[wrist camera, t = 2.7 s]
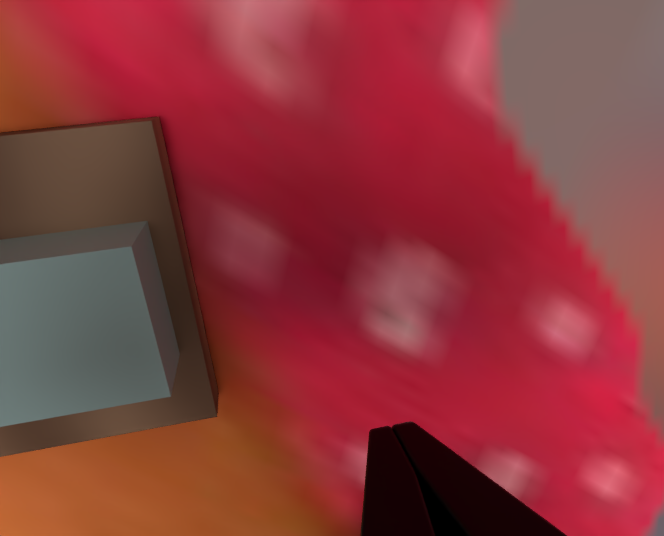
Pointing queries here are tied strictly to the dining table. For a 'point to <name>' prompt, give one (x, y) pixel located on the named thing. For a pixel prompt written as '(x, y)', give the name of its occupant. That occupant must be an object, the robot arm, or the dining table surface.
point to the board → (97, 211)
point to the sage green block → (82, 323)
